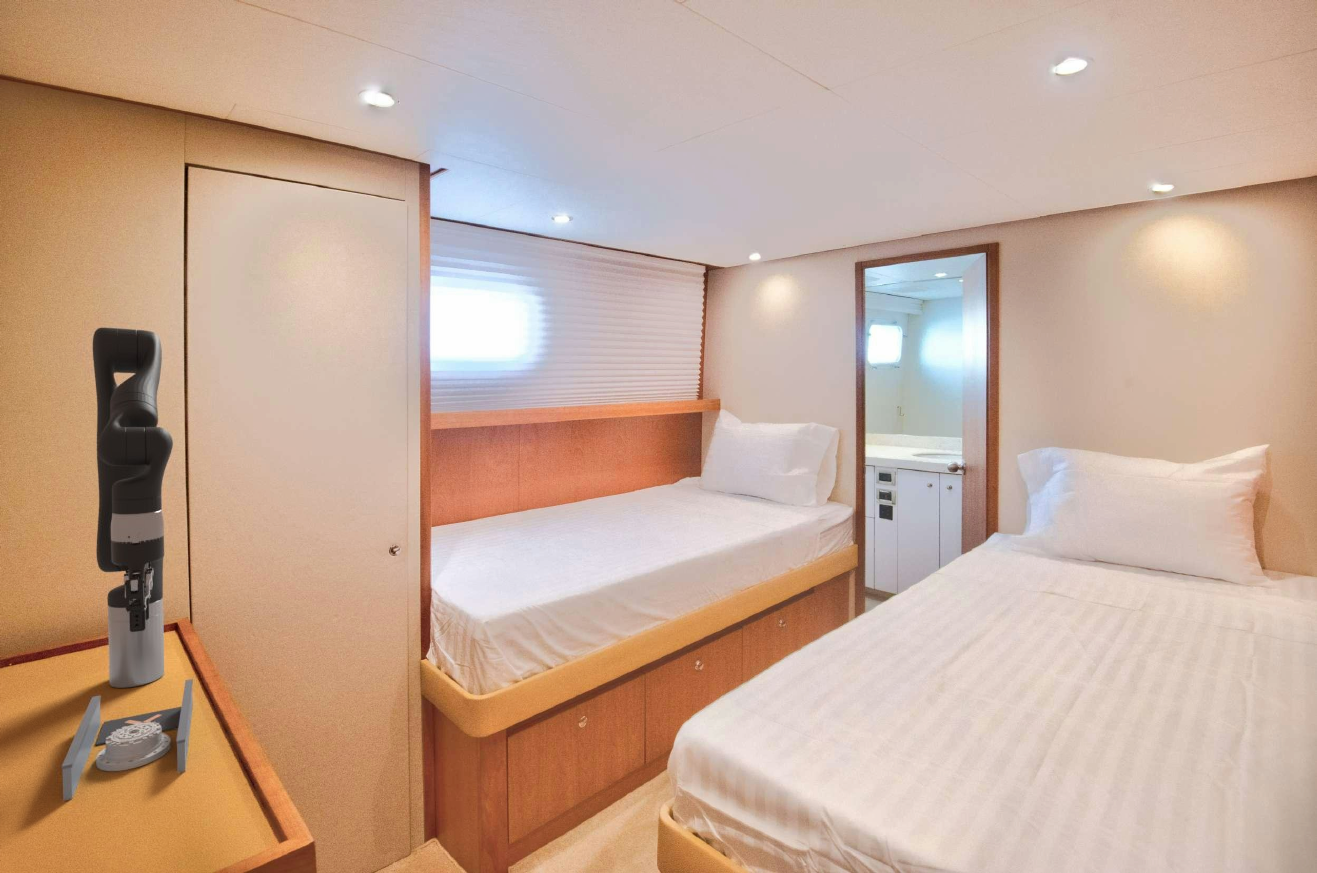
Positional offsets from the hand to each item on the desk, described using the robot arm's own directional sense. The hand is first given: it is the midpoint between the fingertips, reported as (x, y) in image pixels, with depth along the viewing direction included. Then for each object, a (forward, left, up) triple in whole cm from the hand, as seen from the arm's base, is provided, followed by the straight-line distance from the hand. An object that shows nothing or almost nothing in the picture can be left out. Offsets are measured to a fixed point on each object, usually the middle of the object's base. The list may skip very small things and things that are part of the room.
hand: (139, 625), depth 118 cm
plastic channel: (+8, 0, -19) cm, 21 cm away
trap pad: (0, 0, -19) cm, 19 cm away
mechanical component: (+11, 0, -20) cm, 23 cm away
